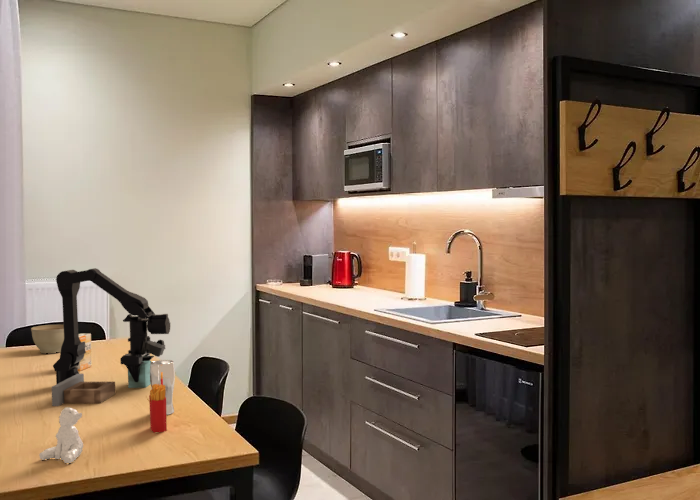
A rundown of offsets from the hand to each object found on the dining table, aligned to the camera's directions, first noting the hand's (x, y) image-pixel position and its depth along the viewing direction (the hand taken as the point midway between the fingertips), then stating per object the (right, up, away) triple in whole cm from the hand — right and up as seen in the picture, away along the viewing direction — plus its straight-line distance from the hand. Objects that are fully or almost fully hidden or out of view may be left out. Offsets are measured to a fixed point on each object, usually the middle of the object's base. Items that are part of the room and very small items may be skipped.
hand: (140, 379), depth 240 cm
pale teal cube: (0, -2, 0) cm, 2 cm away
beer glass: (+17, -4, -34) cm, 38 cm away
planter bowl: (-57, 0, +65) cm, 86 cm away
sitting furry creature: (+4, -6, -71) cm, 71 cm away
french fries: (+20, -4, -50) cm, 54 cm away
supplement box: (-31, -1, +29) cm, 43 cm away
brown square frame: (-11, -3, -16) cm, 20 cm away
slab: (-18, -3, -16) cm, 24 cm away
